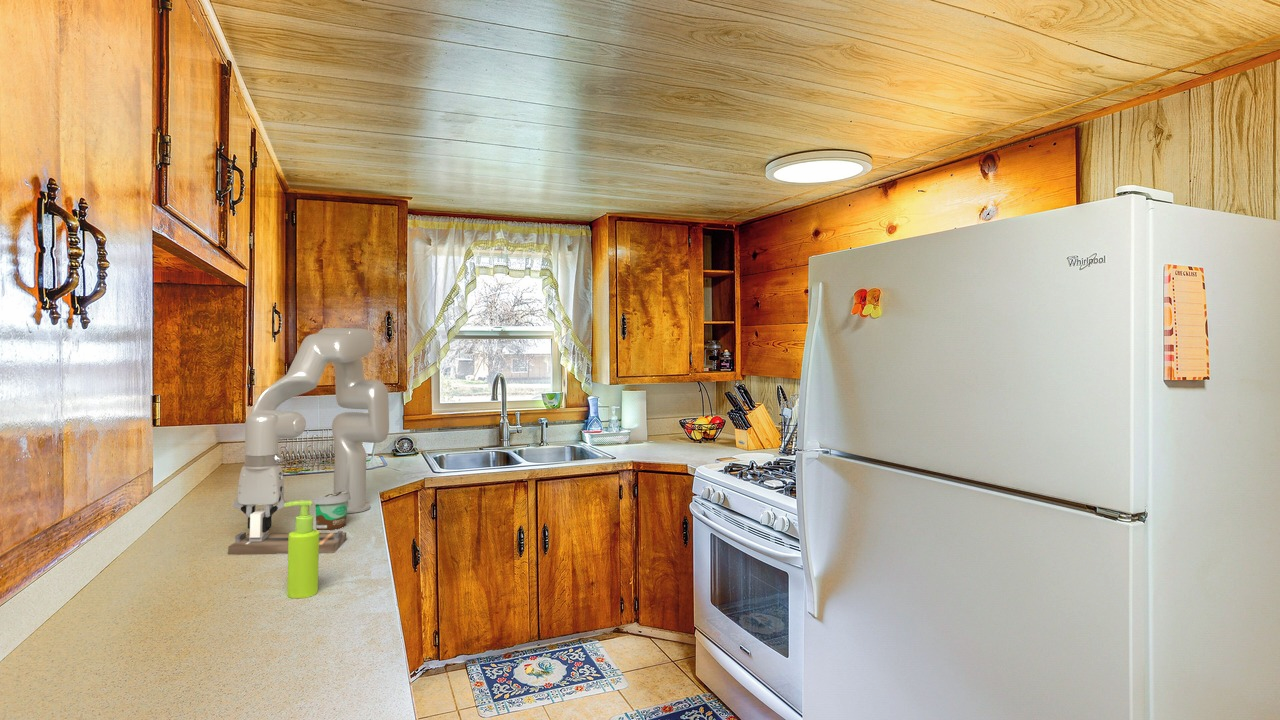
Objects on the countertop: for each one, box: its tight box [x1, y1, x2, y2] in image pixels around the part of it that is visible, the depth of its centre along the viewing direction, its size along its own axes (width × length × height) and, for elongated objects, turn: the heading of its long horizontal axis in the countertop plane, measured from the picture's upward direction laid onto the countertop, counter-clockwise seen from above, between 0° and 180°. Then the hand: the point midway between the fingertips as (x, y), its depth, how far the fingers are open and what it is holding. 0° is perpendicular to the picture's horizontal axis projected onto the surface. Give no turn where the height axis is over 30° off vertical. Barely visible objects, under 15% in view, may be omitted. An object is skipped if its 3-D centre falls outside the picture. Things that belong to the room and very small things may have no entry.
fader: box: [249, 508, 270, 542], centre depth 174 cm, size 6×3×7 cm, turn 10°
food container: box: [313, 489, 351, 531], centre depth 195 cm, size 12×6×10 cm, turn 168°
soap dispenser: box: [284, 499, 320, 599], centre depth 143 cm, size 6×7×20 cm
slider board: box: [227, 530, 347, 555], centre depth 175 cm, size 12×25×4 cm, turn 100°
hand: (259, 530), depth 174 cm, fingers closed on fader, 2 cm apart
